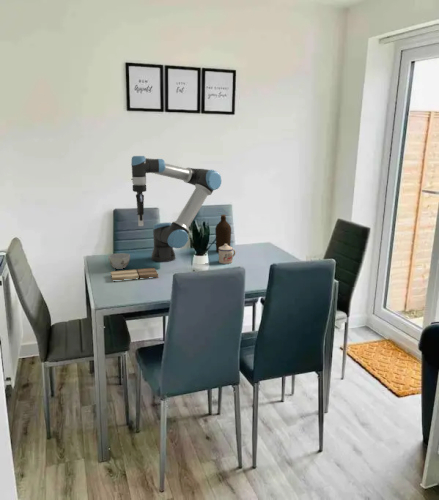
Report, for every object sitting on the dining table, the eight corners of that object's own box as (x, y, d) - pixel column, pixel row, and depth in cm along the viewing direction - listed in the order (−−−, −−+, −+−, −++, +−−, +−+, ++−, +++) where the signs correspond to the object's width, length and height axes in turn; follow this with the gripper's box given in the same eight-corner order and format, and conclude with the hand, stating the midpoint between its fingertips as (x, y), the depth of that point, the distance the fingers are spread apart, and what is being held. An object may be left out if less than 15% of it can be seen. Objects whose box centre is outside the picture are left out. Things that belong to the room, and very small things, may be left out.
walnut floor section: (137, 273, 254) (136, 269, 253) (154, 271, 257) (154, 267, 256) (140, 279, 243) (139, 275, 242) (158, 277, 246) (158, 273, 245)
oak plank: (110, 275, 249) (110, 271, 249) (135, 273, 254) (135, 269, 253) (112, 282, 238) (112, 278, 238) (138, 279, 242) (138, 275, 242)
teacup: (134, 268, 261) (134, 255, 259) (115, 273, 254) (114, 259, 252) (122, 263, 272) (121, 250, 270) (103, 266, 265) (102, 254, 263)
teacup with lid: (223, 265, 270) (224, 246, 267) (215, 261, 277) (215, 243, 274) (239, 261, 277) (239, 243, 274) (230, 258, 284) (230, 240, 281)
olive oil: (233, 250, 302) (234, 214, 296) (226, 254, 293) (226, 217, 287) (220, 248, 307) (220, 213, 301) (212, 252, 299) (212, 215, 292)
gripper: (131, 183, 251) (133, 223, 258) (134, 185, 239) (135, 228, 246) (144, 182, 254) (145, 223, 260) (147, 185, 242) (149, 227, 248)
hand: (141, 225), depth 253 cm, fingers closed
